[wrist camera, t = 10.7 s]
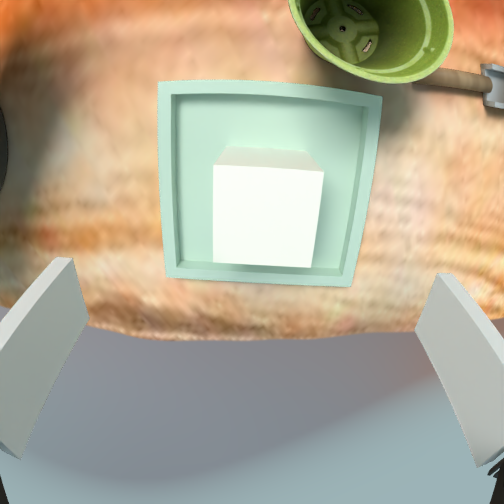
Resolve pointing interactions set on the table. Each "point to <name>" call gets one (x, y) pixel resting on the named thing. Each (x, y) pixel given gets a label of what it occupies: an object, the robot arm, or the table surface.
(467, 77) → the scoop
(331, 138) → the tray
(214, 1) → the table surface
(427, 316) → the robot arm
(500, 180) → the table surface
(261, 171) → the block
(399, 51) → the plant pot
